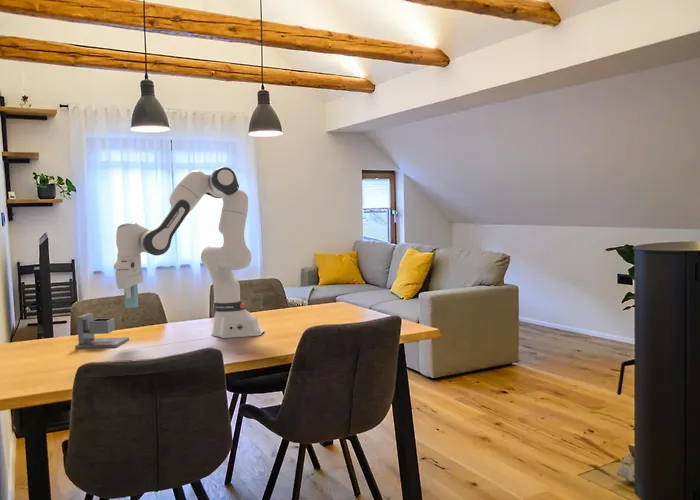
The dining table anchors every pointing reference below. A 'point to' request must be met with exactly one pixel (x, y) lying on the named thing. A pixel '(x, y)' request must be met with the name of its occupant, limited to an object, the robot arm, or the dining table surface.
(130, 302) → the teal rectangular block
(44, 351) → the dining table surface
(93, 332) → the cup bracket
